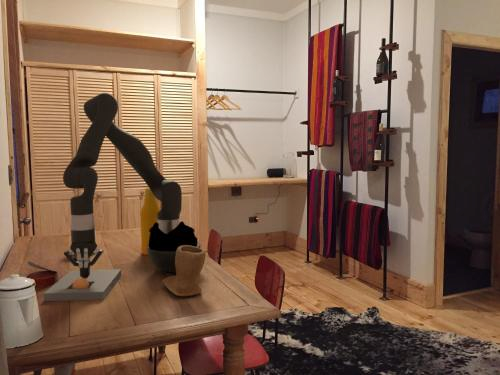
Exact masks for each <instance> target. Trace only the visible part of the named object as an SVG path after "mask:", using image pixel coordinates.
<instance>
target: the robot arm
mask: <svg viewBox="0 0 500 375" xmlns="http://www.w3.org/2000/svg"><path fill="white" fill-rule="evenodd" d="M118 104H119V103H118V101H117V98H115V96H114V95H112V94H111V93H109V92H102V93H99V94H97V95H95V96H93V97H92V98H90V99H88V100H87V101H85V102H84V104H83V111H84V114H85V116H86V117H87V118H88V120H89V121H90V122H91V124H90V126H89V127H88V129H87V130H86V132H85V134H84V135H83V136H82V138H81V140H80V142H79V144H78V148H77V150H76V153H75V156H74V157H73V158H72V159H71V161H70V162H69V164H68V165H67V166H66V168H65V170H64V172H63V174H62V175H63V176H62V182H63V184H64V186H65V187H66V188H68V189H71V190H72V189H79V190H81V189H82V190H83V191H82V194H79V195H74V196H72V197H71V198H70V201H69V202H70V204H69V205H70V206H69V207H70V220H69V222H70V224H69V227H70V238H71V239H70V241H71V244H70V246H69V249H67V250H66V251H64V252H63V254H64V256H65V257H66V258H67V260H68V261H69V262H70V263H71V264H72V265H73V266H74V267H78V268H79V270H80V276H81V277H82V278H85V279H86V278H88V276H89V275H90V270H91V268H90V267H92V266H94V265H95V264H96V262H97V261H98V260H99V259H100V258H101V256H102V255H103V253H104V251H105V250H104V249H102V248H101V249H100V248H99V247H98V244H97V241H96V242H95V230H96V221H95V216H94V215H95V214H94V212H95V211H94V199H95V192H96V188H97V185H98V182H99V181H98V180H99V179H98V178H99V175H98V172H97V171H96V170H95V168H94V166H96V164H97V163H98V159H99V156H100V154H101V153H100V152H101V149H102V146H103V143H104V141H105V138H107V139H108V140H109V142H110V143H111V144H112V145H113V146H114V147H115V148H116V150H117V151H118V152H119V153H120V155H122V157H123V159H125V161H127V163H128V164H129V166H131V168H132V169H133V170H134V171H135V172H136V174H138V175H139V177H141V179H142V180H143V181H144V182H145V184H146V185H147V186H148V187H147V188H150V190H151V191H152V193H153V194H154V196H155V197H156V199H157V201H159V202H161V203H160V204H161V205H160V206H161V207H160V209H161V210H160V211H159V212H158V213H157V223H159V229H160V230H161V231H163V232H164V233H165V234H168V233H169V232H170V231H172V230H173V229H175V228H176V227H177V225H179V223H180V222H181V219H180V218H181V213H182V212H181V211H182V205H183V204H182V199H183V197H182V196H183V195H182V187H181V185H180V184H179V183H178V182H177V181H175V180H170V179H166V178H165V177H164V175H163V174H162V173H161V172H160V171H159V170H158V168H157V166H156V165H155V162H154V159H153V156H152V154H151V153H150V150H149V149H148V147H147V146H146V145H145V144H144V142H143V141H142V140H141V139H140V138H139V137H137V136H136V135H134V134H131V133H130V132H128V131H126V130H124V129H122V128H120V127H119V126H118V125H116V124H115V122H114V120H115V117H116V116H117V113H118V111H119V105H118ZM72 251H73V252H72ZM94 251H96V252H95V253H93V252H94ZM93 254H95V256H94V257H93V258H92V255H93ZM91 259H92V260H91Z"/></svg>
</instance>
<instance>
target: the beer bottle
mask: <svg viewBox="0 0 500 375" xmlns="http://www.w3.org/2000/svg"><path fill="white" fill-rule="evenodd" d="M143 200H144V202H143V205H142V207H141V209H140V214H139V216H140V218H139V219H140V241H141V243H140V246H141V248H140V251H141V254H142V255H144V256H148V252H147V246H148V245H149V236H150V232H149V230H150V228H151V227H152V226H153V224H154V223H156V222H157V213H158V212H159V211H160V210H161V207H160V205H159V203H158V199H157V198H156V197H155V196H154V194H153V193H152V191H151V190H150V188H149V187H146V188H145V190H144V199H143Z"/></svg>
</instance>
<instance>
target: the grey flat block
mask: <svg viewBox="0 0 500 375" xmlns="http://www.w3.org/2000/svg"><path fill="white" fill-rule="evenodd" d="M121 277H122V269H121V268H119V269H117V268H115V269H113V268H112V269H90V275H89V276H88V278H86V280H87V281H88V283H89V287H88V289H73V288H72V285H73V282H74V281H75V280H76V279H78V278H82V277H81V276H80V269H79V270H78V269H77V270H70V271H68V272H67V273H66V274H65V275H64V276H62V277H61V278H60V279H58V282H56V283H55V284H52V286H50V287H49V289H47V290H46V291H45V292H44V293H43V301H44V302H64V301H67V302H68V301H69V302H70V301H99V300H100V301H101V300H103V301H104V300H105V299H106V297H107V296H108V295H109V293H110V292H111V290H112V289H113V288H114V286H115V285H116V284H117V282H118V281H119V279H120V278H121Z"/></svg>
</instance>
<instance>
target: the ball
mask: <svg viewBox="0 0 500 375" xmlns="http://www.w3.org/2000/svg"><path fill="white" fill-rule="evenodd" d="M88 287H89V283H88V281H87V280H86V279H85V278H78V279H76V280H75V281H74V282H73V285H72V288H73V289H88Z"/></svg>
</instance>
